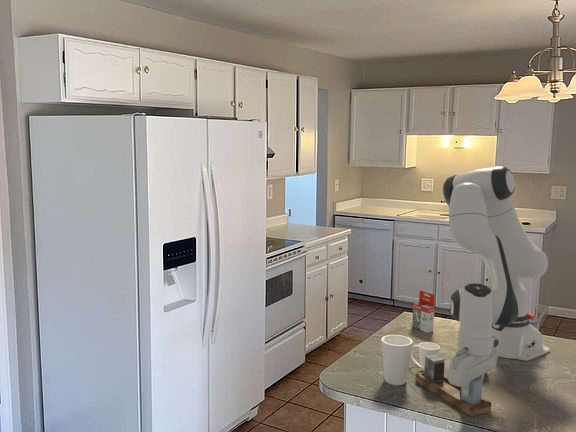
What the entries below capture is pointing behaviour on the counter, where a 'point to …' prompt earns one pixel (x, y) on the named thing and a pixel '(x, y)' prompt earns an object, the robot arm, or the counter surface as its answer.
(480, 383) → the pale grey rounded cube
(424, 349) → the cup
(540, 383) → the counter surface
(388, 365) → the foam cup
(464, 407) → the rail
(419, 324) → the ink box
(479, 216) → the robot arm
